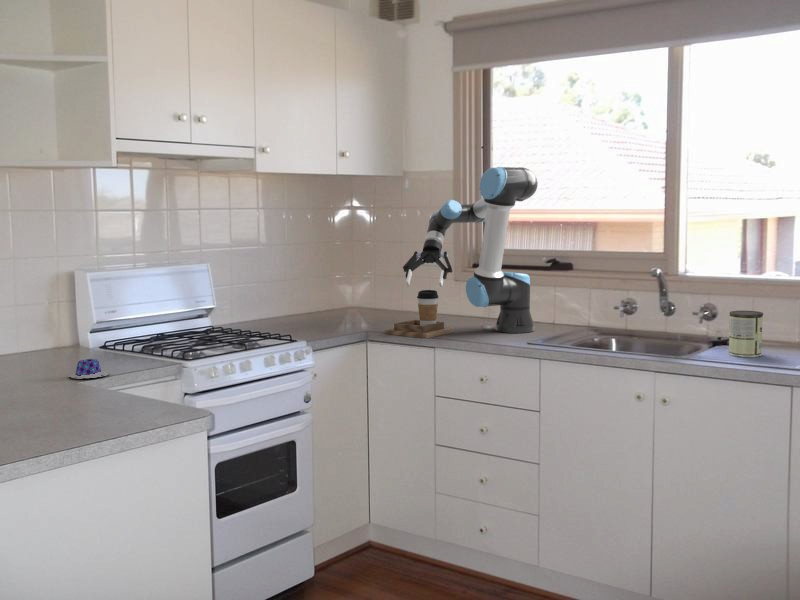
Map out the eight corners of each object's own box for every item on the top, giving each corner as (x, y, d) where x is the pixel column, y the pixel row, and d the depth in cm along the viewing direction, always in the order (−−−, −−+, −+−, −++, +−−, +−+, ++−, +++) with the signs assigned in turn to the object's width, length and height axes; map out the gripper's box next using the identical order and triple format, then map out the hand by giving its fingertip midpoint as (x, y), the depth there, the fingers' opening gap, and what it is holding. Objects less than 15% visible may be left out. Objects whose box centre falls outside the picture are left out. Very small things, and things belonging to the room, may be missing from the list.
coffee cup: (439, 327, 349) (439, 289, 348) (438, 330, 341) (437, 292, 339) (418, 327, 350) (418, 289, 349) (416, 330, 342) (415, 292, 340)
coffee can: (726, 351, 297) (727, 310, 296) (758, 352, 295) (760, 310, 293) (730, 357, 287) (731, 314, 286) (764, 358, 285) (765, 314, 283)
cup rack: (453, 332, 347) (453, 322, 347) (426, 338, 333) (426, 327, 332) (412, 328, 359) (412, 318, 359) (385, 333, 345) (384, 323, 344)
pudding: (115, 377, 266) (114, 360, 265) (75, 383, 258) (74, 365, 258) (101, 372, 275) (101, 355, 274) (62, 377, 268) (61, 360, 267)
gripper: (464, 250, 363) (456, 290, 350) (406, 250, 370) (396, 289, 357) (461, 238, 357) (453, 278, 344) (402, 238, 364) (392, 277, 352)
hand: (424, 284), depth 351 cm, fingers open, 13 cm apart
